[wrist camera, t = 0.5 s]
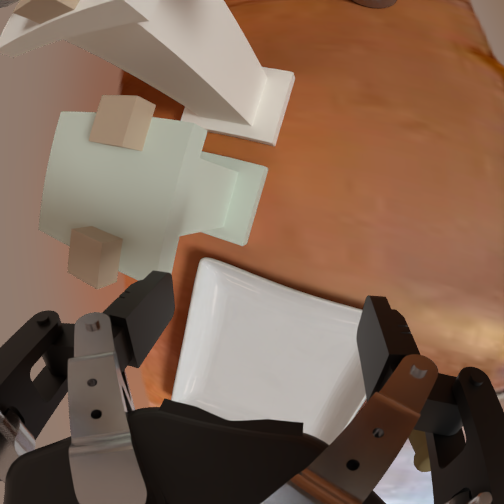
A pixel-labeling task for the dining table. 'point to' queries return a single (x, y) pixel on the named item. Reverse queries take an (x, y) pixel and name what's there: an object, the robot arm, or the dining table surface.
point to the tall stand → (167, 56)
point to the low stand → (139, 190)
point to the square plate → (269, 353)
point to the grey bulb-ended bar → (6, 2)
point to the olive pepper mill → (420, 450)
